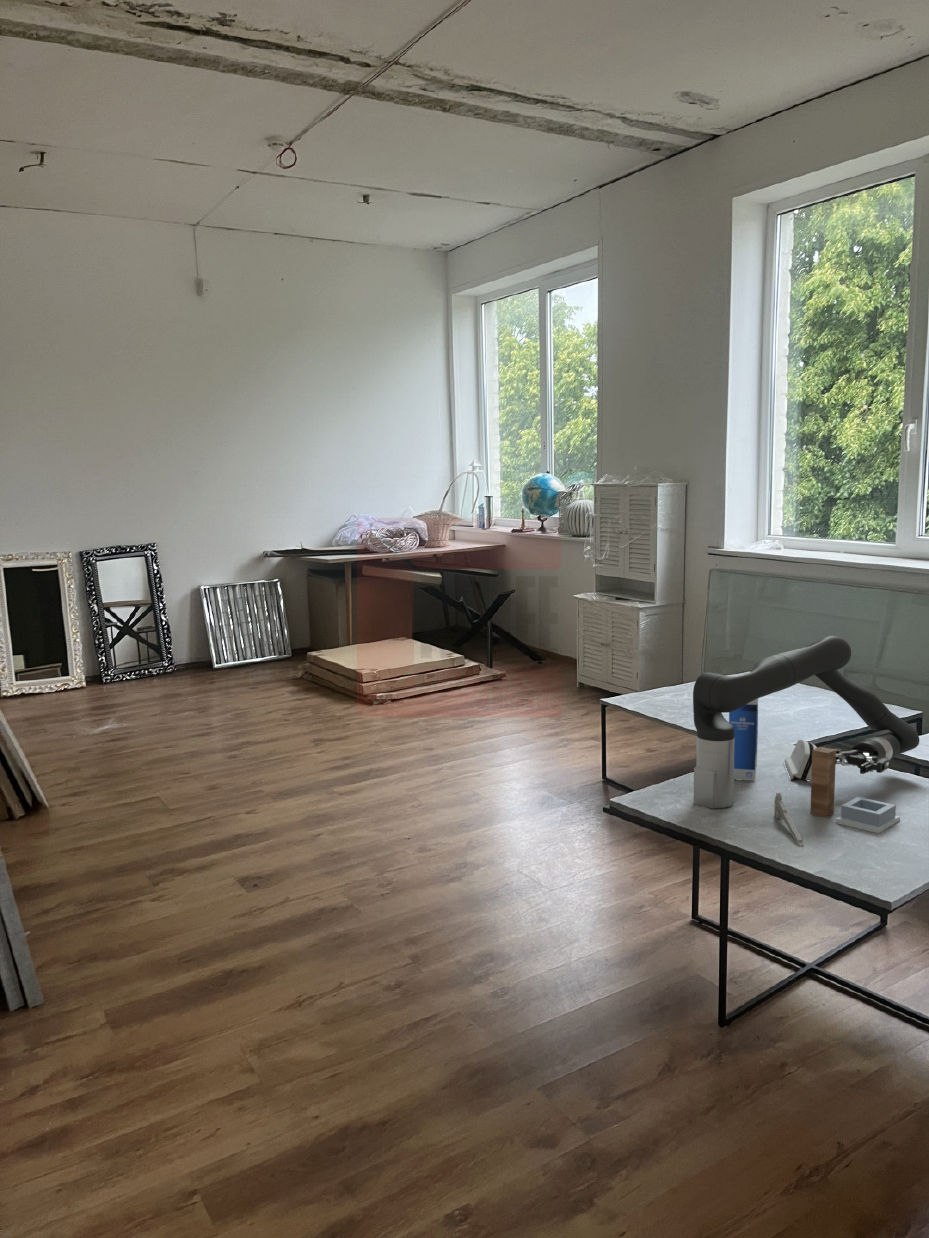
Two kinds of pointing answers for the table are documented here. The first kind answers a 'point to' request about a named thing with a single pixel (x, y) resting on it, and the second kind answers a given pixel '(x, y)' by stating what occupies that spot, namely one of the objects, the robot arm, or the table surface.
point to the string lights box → (745, 740)
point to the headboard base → (868, 814)
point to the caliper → (786, 818)
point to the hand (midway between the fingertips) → (844, 766)
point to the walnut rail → (823, 781)
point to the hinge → (800, 760)
